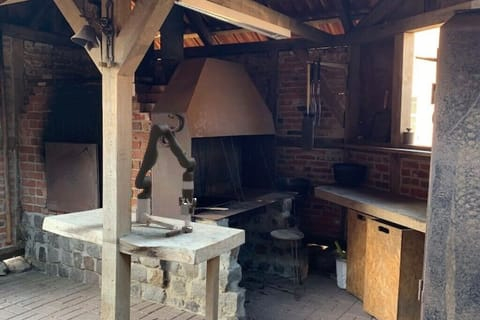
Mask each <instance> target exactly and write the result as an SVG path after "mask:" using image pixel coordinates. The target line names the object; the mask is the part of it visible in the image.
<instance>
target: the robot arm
mask: <svg viewBox="0 0 480 320" xmlns="http://www.w3.org/2000/svg"><path fill="white" fill-rule="evenodd" d="M149 131H150V132H149V137H148V140H147V141H148V142H147V145H146V149H145V151H144V155H143V158H142V161H141V164H140V167H139V170H138V173H137V174H136V177H135V179H134V186H135V189H137V190H142V191H141V192H140V193H138V194H137V196H136V208H135V222H136V223H139V224H143V223H142V221H145V217H144V216H143V217H141V215H142V214H145V213H146V214H148V215H149V216H150V217H151V196H152V186H153V183H152V182H153V181H152V180H153V179H152V178H151V176H149V175H148V173H149V171H150V170H152V168H154V166H155V165H156V163H157V160H158V158H159V149H158V148H157V147H158V146H157V145H158V142H159V139H160V138H164V139H165V140H166V141H167V143H168V146H169V150H170V152H171V153H172V154H173V155H174V156H175V157H176V158H177V161H178V164H179V166H180V167H181V168H183V169H185V171H183V173H182V183H181V196H179V197H178V204H179V205H178V206H179V207H181V205H182V204H183V205H184V204H188V205H190V214H193V208H194V209H195V208H197V200H198V199H197V198H194V192H195V191H194V174H195V170H196V165H197V162H196V160H195V158H194V157H189V156H188V157H187V155H186V154H187V152H186V150H185V149H184V148H183V146H181V145H180V143H179V142H178V141H177V139H176V137H175V136H174V134H173V133H172V131H171V129H170V127H169V126H168V125H167V124H166V123H163V122H162V123H156V124H152V125H151V129H150V130H149ZM191 205H192V206H191Z"/></svg>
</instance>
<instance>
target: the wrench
mask: <svg viewBox="0 0 480 320" xmlns="http://www.w3.org/2000/svg"><path fill="white" fill-rule="evenodd" d="M143 216H144V217H145V221H142V223H141V224H143V225H146V227H149V226H150V225H151V224H154V225H156V226H160V227H162V228H168V229H170V230H173V231H175V230H179V229H178V228H179V226H178V225H177V224H173V223H169V222H165V221H162V220H158V219H154V218H153V217H152V216H151V215H150V216H149V215H148V214H146V213H145V214H142V215H141V217H143Z"/></svg>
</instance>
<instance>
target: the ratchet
mask: <svg viewBox="0 0 480 320" xmlns="http://www.w3.org/2000/svg"><path fill="white" fill-rule="evenodd" d="M193 229H194V228H193V226H192V225H191V219H190V220H189V219H185V220H184V226H182V227H181V228H180V229H176V230H171V231H168V232H167V231H166V232H165V238H166V237H167V238H173V237H177V236H178V235H179V236H180V235H183V234H190V233H193Z"/></svg>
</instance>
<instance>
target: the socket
mask: <svg viewBox="0 0 480 320" xmlns="http://www.w3.org/2000/svg"><path fill="white" fill-rule="evenodd" d="M191 206H192V205H191ZM180 215H182V216H187V217H188V216H192V215H195V208H193V214H190V205H188V204H184V205H183V204H182V205H181V206H180Z"/></svg>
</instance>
